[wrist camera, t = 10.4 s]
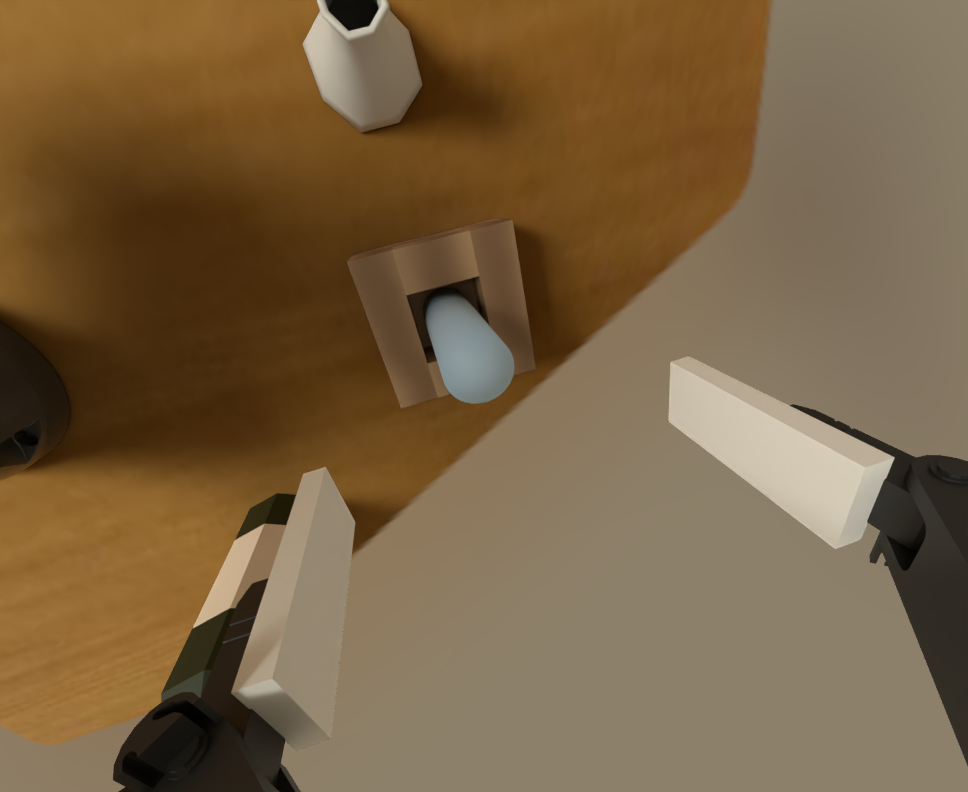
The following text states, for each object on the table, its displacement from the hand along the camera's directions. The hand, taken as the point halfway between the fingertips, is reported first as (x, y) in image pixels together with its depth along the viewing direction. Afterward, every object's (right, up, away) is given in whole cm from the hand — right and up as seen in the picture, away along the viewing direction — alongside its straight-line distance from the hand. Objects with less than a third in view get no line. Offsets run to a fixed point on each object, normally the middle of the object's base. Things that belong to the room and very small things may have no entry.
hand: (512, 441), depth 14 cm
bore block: (-5, +10, +19) cm, 22 cm away
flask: (-9, +24, +11) cm, 28 cm away
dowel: (-4, +9, +19) cm, 21 cm away
